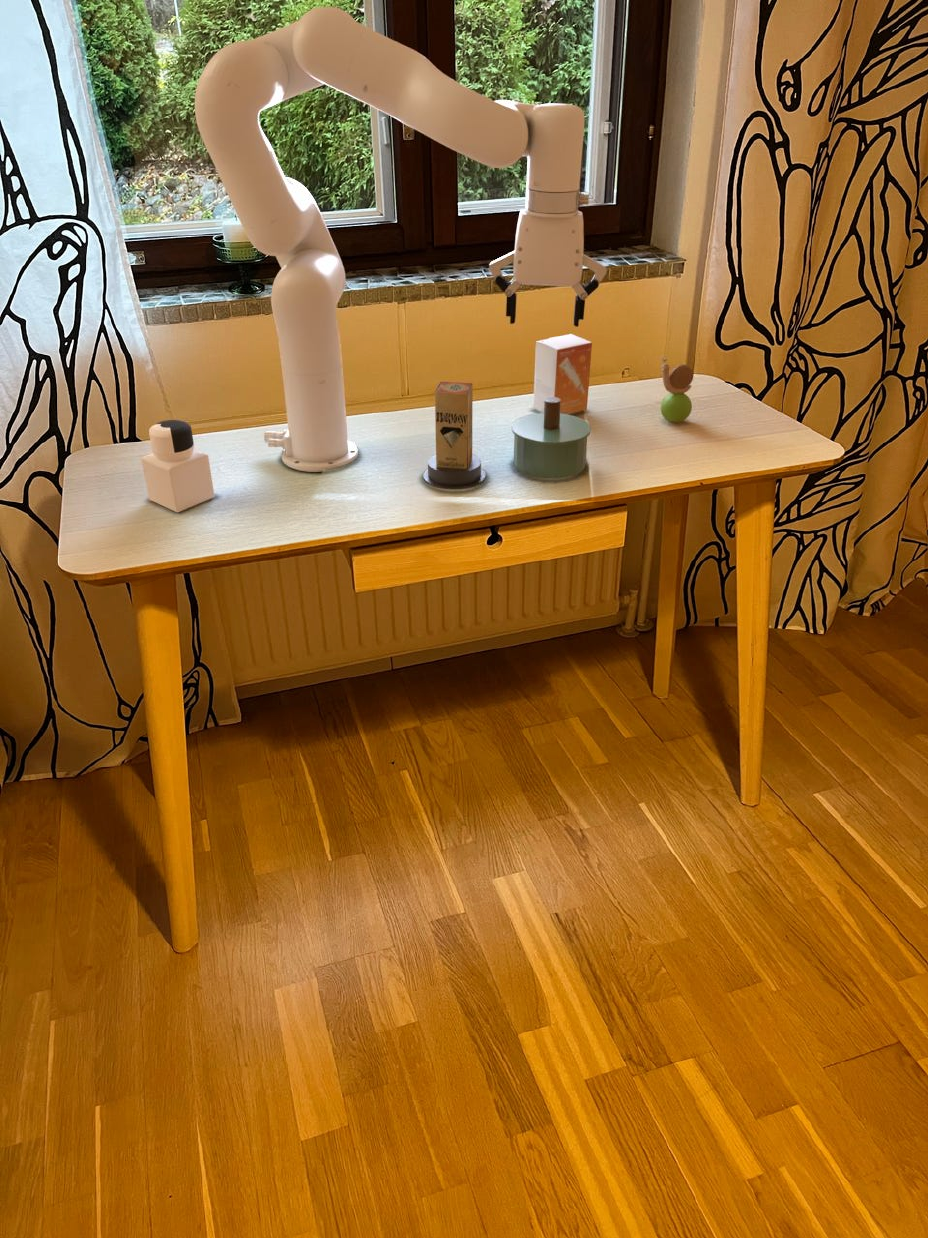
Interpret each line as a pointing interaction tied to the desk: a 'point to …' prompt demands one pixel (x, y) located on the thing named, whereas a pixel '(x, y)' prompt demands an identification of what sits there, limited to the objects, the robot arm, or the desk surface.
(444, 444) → the shoe polish box
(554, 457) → the tin
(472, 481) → the stand
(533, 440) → the tin lid
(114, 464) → the desk surface
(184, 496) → the medicine bottle
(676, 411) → the snail figurine
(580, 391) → the small box
